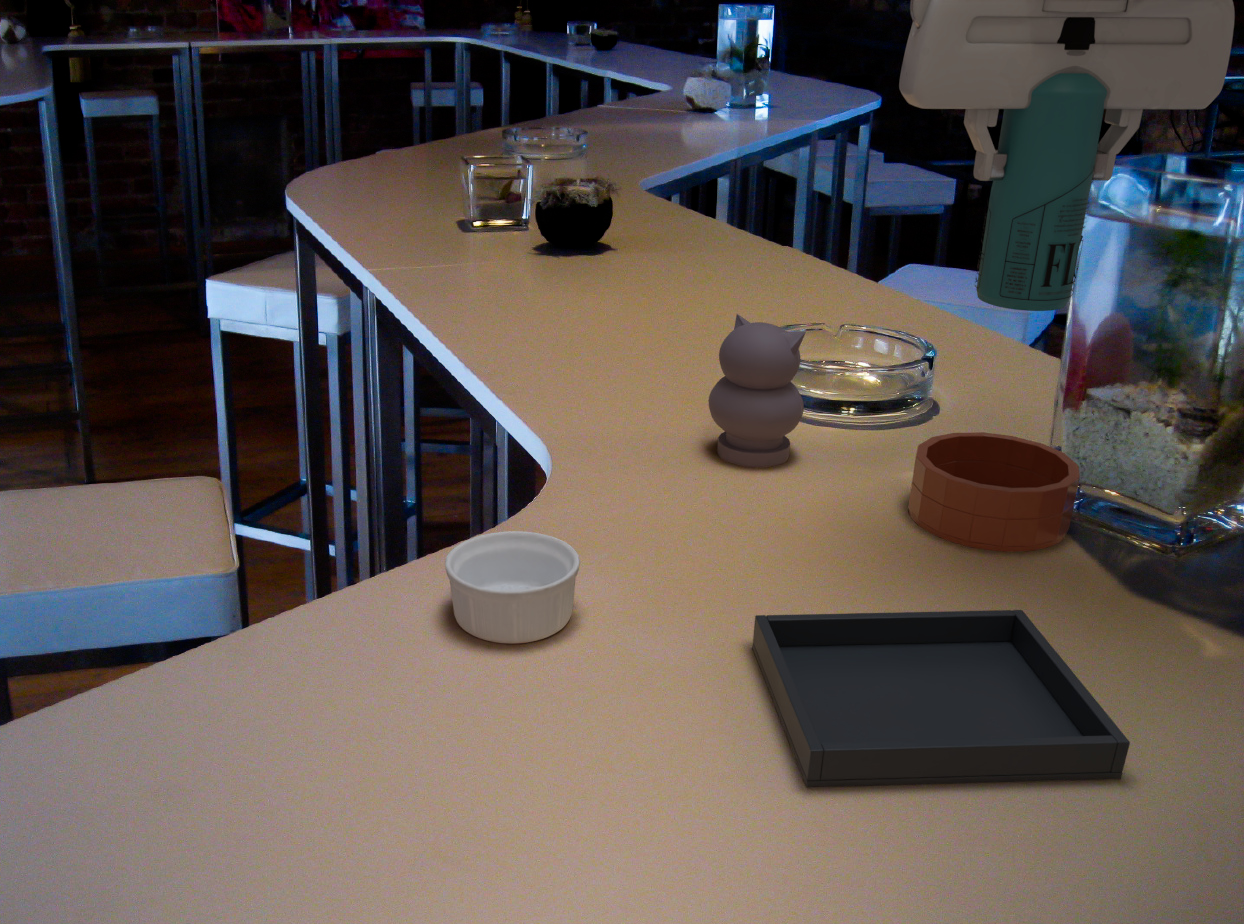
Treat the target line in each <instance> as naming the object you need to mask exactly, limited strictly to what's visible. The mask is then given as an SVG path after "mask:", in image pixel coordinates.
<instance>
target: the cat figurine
mask: <svg viewBox="0 0 1244 924" xmlns="http://www.w3.org/2000/svg"><path fill="white" fill-rule="evenodd" d="M806 333H807V331H786V329H783V328H781V327H780V326H778V325H775V324H772V323H769V322H762V321H761V322H760V321H757V322H750V321H749V320H747V319H746V318H744V317H743V316H741V315H740V314H739V313H736V316H735V321H734V327H733V330H731V331H730V332H729V333H728V335H727V336H726V337H725V338H724V339H723V341H722V343H721V344H720V348H719V352H718V361H719V365H720V369H721V371H722V373H723V375H724V376H723V377H721V378H720V379H719V380H718V381H717V382H716V383H715V385H714V386H713V387H712V389H711V390H710V393H709V395H708V409H709V413H710V416H711V418H712V420H713V421H714V423H715V424H716V425H717V426H718V427H719V428H720V429H721V430H723V431H722V432H721V433H720V434H719V435H718V437H717V448H716V449H717V450H716V451H717V456H719V458H721V459H722V460H724V461H725V462H728V463H730V464H734V465H736V466H741V467H747V468H770V467H775V466H779V465H783V464H784V463H786V462H787V461H788V459H789V458H790V452H791V441H790V438H788V437H787V436H786V435H788V434H790V433H792V431H793V430H795V429H796V428H797V426H798V425H799V423H800V421H801V419H802V417H803V414H804V410H805V407H804V406H805V404H804V400H803V397H802V395H801V393H800V391H799V389H798V387H796V385H795V384H794V383H793V382H792V381H793V380H794V378H795V376H796V375H797V373H798V372H799V369H800V366H801V352H800V347H801V344H802V343H803V340H804V338H805V335H806Z"/></svg>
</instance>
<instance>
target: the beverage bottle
mask: <svg viewBox="0 0 1244 924" xmlns="http://www.w3.org/2000/svg"><path fill="white" fill-rule="evenodd" d="M1094 19H1095V18H1093V17H1068V18H1066V20H1065V21H1064V24H1063V28H1062V31H1061V34H1060V37H1059V39H1058V40H1057V44H1065V47H1064V50H1089V47H1090V44H1095V37H1094V36H1095V20H1094ZM1106 96H1107V90H1106V88H1105V87H1104V86H1103V85H1102V84H1101V83H1100V82H1099V81H1098V80H1097V79H1096V78H1094V77H1093V76H1091V75H1089V74H1088V73H1059V74H1057V75H1054V76H1052V77H1050V78H1049V79H1047V80H1046V81H1044V82H1043V83H1041V84H1040V85H1039V86H1038V87H1036V88H1035V89H1034V90H1033V91H1032V95H1031V102H1030V105H1029V106H1028V107H1027V108H1025V109H1003V115H1002V120H1001V121H1002V122H1001V128H1000V135H999V141H998V147H997V150H999V151H1001V152H1003V153H1006V154H1008V157H1007V164H1006V165H1005V167H1004V170H1005V175H1004V178H1003V180H994V181H992V182H991V185H990V186H989V188H990V191H988V192H987V194H989V192H990V195H989V197H987V200H986V203H988V205H987V207H988V208H987V213H986V211H985V213H984V215H986V217H984V220H983V221H985V223H983V226H982V233H981V236H982V237H983V239H981V240H980V242H981V245H982V249H981V246H980V248H979V249H981V250H979V254H978V259H977V260H978V261H977V262H978V263H979V264H978V265H977V266H976V269H977V270H978V271H976V274H975V276H977V277H975V281H974V287H975V288H976V289H975V290H976V295H977V298H978V299H979V300H980V302H981V301H982V302H984V303H985V304H988V305H991V306H994V307H997V308H1003V309H1008V310H1015V311H1024V312H1025V311H1027V312H1048V311H1049V312H1050V311H1056V310H1061V309H1064V308H1065V307H1066V306H1067V305H1068V303H1069V300H1070V298H1071V297H1073V295H1074V293H1072V292H1074V289H1075V286H1073V285H1075V282H1076V279H1077V275H1078V270H1079V266H1080V259H1081V254H1082V249H1083V244H1084V243H1083V242H1084V236H1083V230H1084V229H1085V228H1086V225H1085V223H1087V221H1086V220H1085V219H1086V218H1087V216H1086V215H1087V214H1088V211H1089V210H1087V209H1088V208H1090V207H1089V204H1090V201H1089V197H1090V193H1091V187H1092V183H1093V182H1094V181H1095V180H1092V177H1093V171H1094V170H1095V168H1094V166H1095V165H1096V164H1095V160H1096V155H1097V151H1098V149H1097V148H1098V144H1099V145H1100V143H1099V142H1100V134H1101V128H1102V123H1103V119H1104V118H1103V116H1104V113H1105V112H1104V111H1105V109H1104V101H1105V98H1106ZM1099 153H1100V152H1099ZM1097 160H1098V159H1097ZM1095 175H1096V172H1095ZM1094 179H1095V178H1094ZM988 199H989V200H988ZM1079 251H1080V252H1079ZM1078 256H1079V257H1078Z"/></svg>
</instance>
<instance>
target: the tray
mask: <svg viewBox="0 0 1244 924" xmlns="http://www.w3.org/2000/svg"><path fill="white" fill-rule="evenodd" d="M751 649H752V652H753V654H754V657H755V659H756V662H757V664H758V667H759V669H760V672H761V675H762V677H763V679H764V682H765V685H766V687H767V691H768V692H769V695H770V697H771V700H772V703H773V705H774V708H775V711H776V714H777V716H778V718H779V720H780V723H781V726H782V729H783V732H784V734H785V736H786V738H787V741H788V744H789V746H790V749H791V752H792V755H793V757H794V760H795V762H796V765H797V767H798V769H799V772H800V775H801V777H802V780H803V782H804V785H805V787H806V788H807V789H811V788H843V787H845V788H850V787H882V786H883V787H885V786H917V785H919V786H921V785H950V784H951V785H952V784H953V785H955V784H985V783H991V784H992V783H1020V782H1023V783H1025V782H1026V783H1027V782H1056V781H1058V782H1059V781H1092V780H1093V781H1094V780H1121V779H1122V778H1123V777H1122V776H1123V772H1124V767H1125V764H1126V761H1127V756H1128V753H1129V752H1128V751H1129V748H1130V744H1131V742H1130V740H1129V739H1128V738H1127V736H1126V735H1125V734H1124V733H1123V732H1122V730H1121V729H1120V728H1119V727H1118V726H1117V725H1116V723H1115V722H1114V721H1113V719H1112V718H1111V717H1110V716H1109V714H1108V713H1107V712H1106V711H1105V709H1104V708H1103V707H1102V705H1100V703H1099V702H1098V701H1097V700H1096V698H1095V697H1094V696H1093V694H1091V693H1090V691H1089V690H1088V689H1087V687H1086V686H1085V685H1084V684H1083V683H1082V681H1081V680H1080V679H1079V678H1078V676H1077V675H1076V674H1075V673H1074V672H1073V671H1072V669H1071V668H1070V666H1068V664H1067V663H1066V662H1065V660H1064V659H1063V658H1062V657H1061V656H1060V654H1059V653H1058V651H1056V649H1055V648H1054V647H1053V646H1052V644H1050V642H1049V641H1048V639H1047V638H1046V637H1045V635H1044V634H1042V632H1041V631H1040V630H1039V629H1038V627H1037V626H1036V625H1035V624H1034V622H1033V621H1032V620H1031V619H1030V617H1028V615H1027V614H1026V613H1025V611H1024V610H1022V609H1012V610H1011V609H1001V610H1000V609H999V610H998V609H997V610H995V609H993V610H951V611H949V610H948V611H947V610H946V611H945V610H944V611H903V612H901V611H900V612H855V613H854V612H852V613H849V612H848V613H808V614H807V613H805V614H804V613H803V614H767V615H765V614H758V615H757V614H756V615H755V616H754V625H753V636H752V647H751Z"/></svg>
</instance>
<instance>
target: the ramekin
mask: <svg viewBox="0 0 1244 924" xmlns="http://www.w3.org/2000/svg"><path fill="white" fill-rule="evenodd" d="M580 564H581V559H580V556H579V553H578V552H577V550H576V549H575V548H574V547H573V546H571V545H570V543H568V542H566V541H564V540H562V539H560V538H558V537H555V536H552V535H549V534H546V533H545V534H544V533H540V532H535V531H524V530H523V531H521V530H519V531H518V530H510V531H508V530H506V531H498V532H497V531H496V532H490V533H485V534H481V535H477V536H475V537H471V538H469V539H467V540H464V541H462V542H460V543H459V544H457V545H456V546H454V547H453V548H451V550H450V551H449V552H448V554H447V556H446V557H445V561H444V567H445V569H444V570H445V573H446V576H447V578H448V580H449V586H450V594H451V601H452V609H453V614H454V618H455V620H456V622H457V624H458V625H459V627H460V628H462V629H463V630H464V631H465V632H467V634H469V635H472V636H473V637H476V638H478V639H480V640H484V641H487V642H491V643H498V644H526V643H532V642H536V641H541V640H543V639H545V638H549V637H551V636H553V635H555V634H556V633H558V632H559V631H561V630H562V629H563V628H564V627H565V626H566V625H567V624H568V623H569V621H570V619H571V617H572V614H573V608H574V601H575V590H576V580H577V576H578V574H579V570H580Z"/></svg>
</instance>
